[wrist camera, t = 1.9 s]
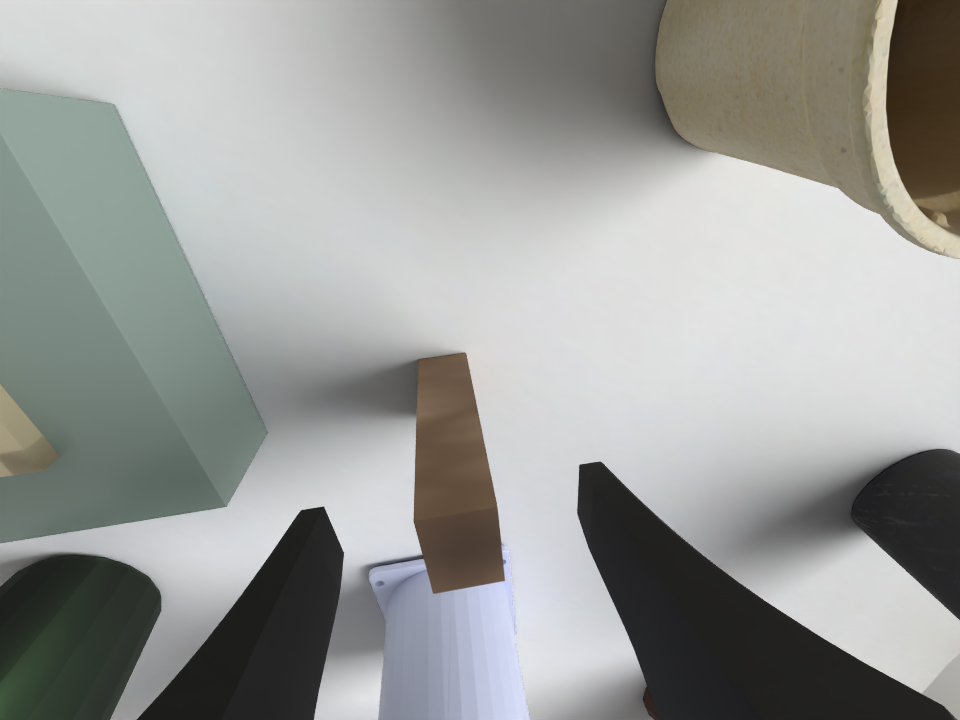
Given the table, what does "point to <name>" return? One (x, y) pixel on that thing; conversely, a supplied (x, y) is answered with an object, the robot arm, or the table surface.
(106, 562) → the potion bottle
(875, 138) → the flower pot
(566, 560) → the table surface
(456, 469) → the brown wooden block
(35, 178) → the sage green square pedestal
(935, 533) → the travel mug
